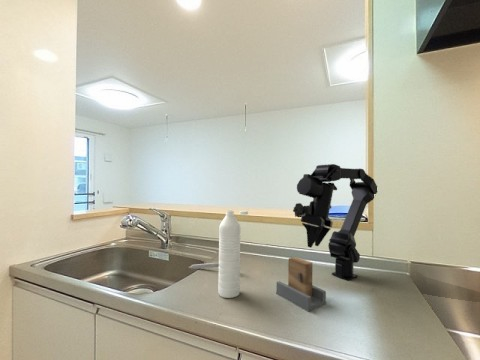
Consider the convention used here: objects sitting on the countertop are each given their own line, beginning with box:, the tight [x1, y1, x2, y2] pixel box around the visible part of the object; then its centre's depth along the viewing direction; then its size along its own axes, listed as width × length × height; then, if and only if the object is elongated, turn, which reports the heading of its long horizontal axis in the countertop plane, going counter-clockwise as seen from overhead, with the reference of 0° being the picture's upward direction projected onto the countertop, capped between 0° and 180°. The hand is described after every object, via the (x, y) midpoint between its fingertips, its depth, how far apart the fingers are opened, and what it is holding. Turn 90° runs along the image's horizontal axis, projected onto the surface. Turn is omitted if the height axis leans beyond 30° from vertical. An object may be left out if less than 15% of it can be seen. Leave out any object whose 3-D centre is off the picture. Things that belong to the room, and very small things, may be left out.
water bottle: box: [217, 210, 249, 299], centre depth 71 cm, size 9×6×25 cm
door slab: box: [287, 256, 313, 298], centre depth 68 cm, size 4×6×10 cm, turn 34°
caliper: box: [188, 261, 219, 270], centre depth 89 cm, size 20×1×6 cm, turn 73°
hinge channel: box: [275, 280, 327, 312], centre depth 68 cm, size 7×12×4 cm, turn 34°
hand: (313, 246), depth 78 cm, fingers open, 9 cm apart
